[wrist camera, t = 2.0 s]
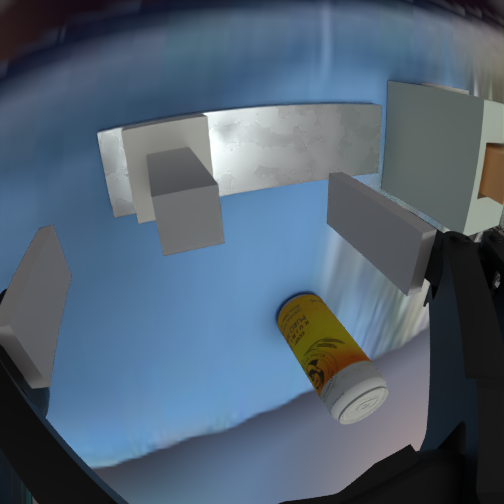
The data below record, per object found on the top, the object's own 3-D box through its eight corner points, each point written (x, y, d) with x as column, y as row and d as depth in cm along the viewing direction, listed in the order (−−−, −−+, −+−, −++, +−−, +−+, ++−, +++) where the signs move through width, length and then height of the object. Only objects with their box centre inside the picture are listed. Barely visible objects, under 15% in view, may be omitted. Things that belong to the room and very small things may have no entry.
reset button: (460, 182, 24) (502, 205, 20) (466, 139, 22) (511, 158, 18) (481, 179, 25) (520, 200, 21) (487, 140, 23) (529, 158, 19)
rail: (115, 210, 26) (114, 217, 24) (99, 130, 22) (97, 133, 21) (369, 168, 32) (378, 173, 31) (372, 103, 28) (381, 105, 27)
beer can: (279, 293, 36) (349, 397, 24) (326, 287, 38) (401, 377, 26) (270, 333, 39) (327, 433, 27) (314, 326, 41) (376, 415, 29)
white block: (381, 188, 34) (462, 237, 24) (387, 77, 27) (484, 94, 17) (422, 183, 35) (498, 225, 26) (431, 83, 29) (519, 104, 19)
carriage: (138, 213, 25) (143, 296, 16) (122, 127, 21) (109, 160, 12) (210, 198, 26) (256, 270, 17) (202, 113, 23) (248, 136, 14)
